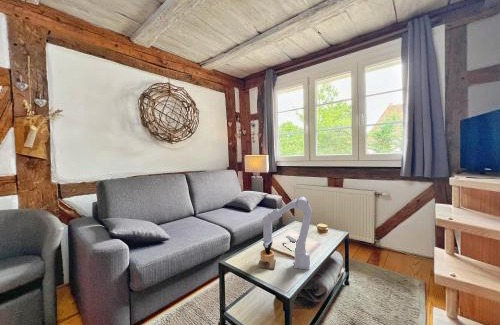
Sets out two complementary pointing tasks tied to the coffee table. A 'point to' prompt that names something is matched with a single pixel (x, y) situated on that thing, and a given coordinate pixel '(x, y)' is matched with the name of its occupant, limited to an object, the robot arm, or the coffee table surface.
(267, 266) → the walnut base board
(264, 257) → the cord coil ring
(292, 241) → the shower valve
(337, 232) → the coffee table surface
